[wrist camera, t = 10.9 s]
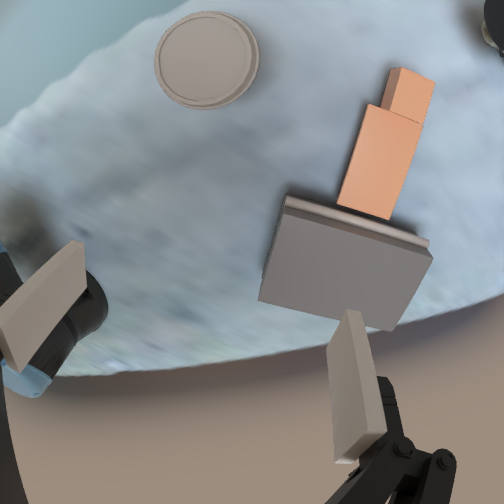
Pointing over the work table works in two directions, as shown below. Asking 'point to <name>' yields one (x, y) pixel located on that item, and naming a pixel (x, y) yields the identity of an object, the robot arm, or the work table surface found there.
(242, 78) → the disposable coffee cup
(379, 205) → the orange stepped block
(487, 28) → the ball valve
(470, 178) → the work table surface
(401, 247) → the block
